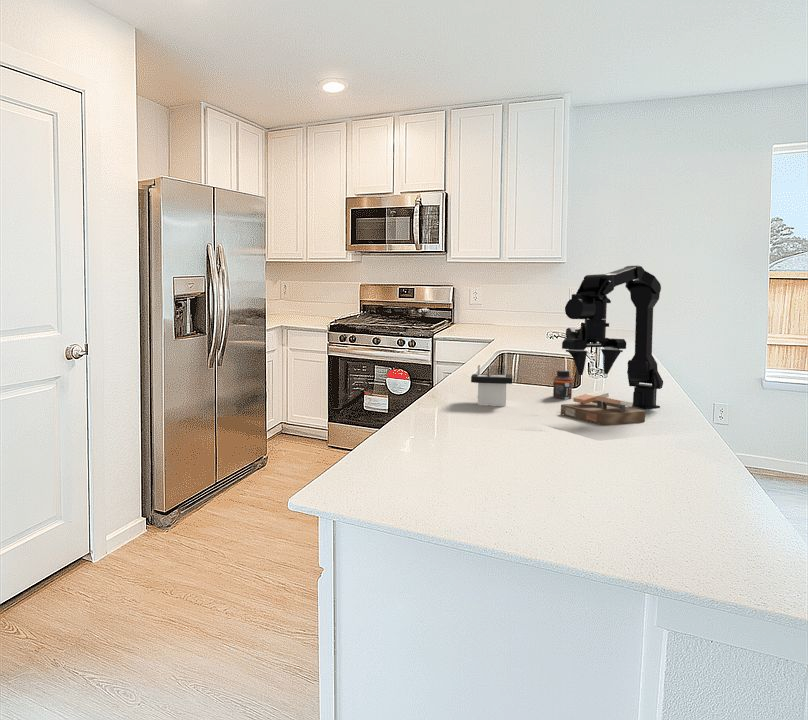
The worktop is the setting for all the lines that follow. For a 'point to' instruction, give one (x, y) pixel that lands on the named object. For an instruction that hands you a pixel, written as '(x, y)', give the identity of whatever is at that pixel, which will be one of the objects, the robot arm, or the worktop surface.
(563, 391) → the supplement bottle
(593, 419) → the switch unit
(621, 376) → the worktop surface
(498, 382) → the white and black block
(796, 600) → the worktop surface
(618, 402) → the block
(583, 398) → the rocker
